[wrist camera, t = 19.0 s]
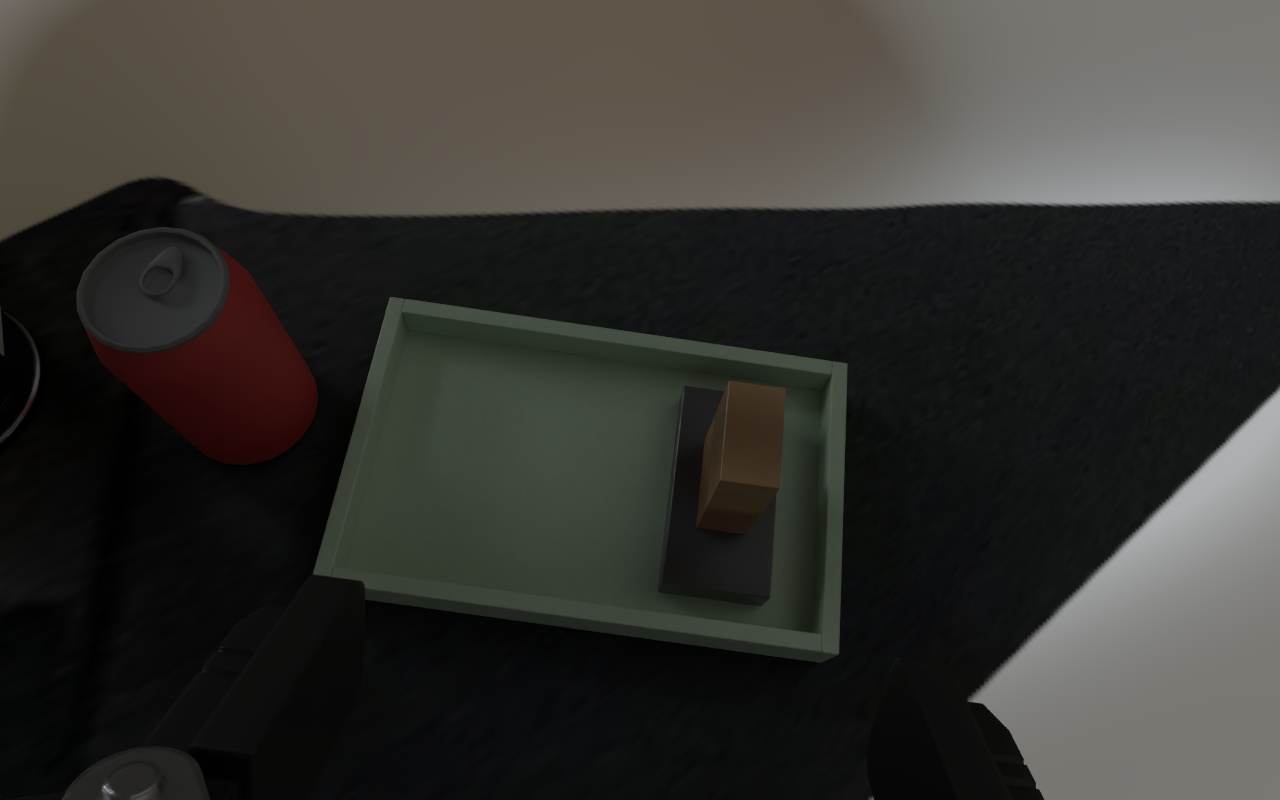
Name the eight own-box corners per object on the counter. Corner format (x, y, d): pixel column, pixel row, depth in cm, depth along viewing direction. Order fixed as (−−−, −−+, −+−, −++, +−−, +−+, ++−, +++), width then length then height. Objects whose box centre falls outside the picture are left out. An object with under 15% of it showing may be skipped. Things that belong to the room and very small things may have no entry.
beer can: (340, 366, 46) (268, 235, 35) (293, 482, 43) (199, 381, 32) (218, 338, 46) (109, 199, 35) (164, 452, 43) (27, 341, 32)
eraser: (761, 606, 41) (810, 563, 33) (657, 592, 41) (679, 545, 33) (774, 414, 45) (819, 333, 37) (679, 400, 45) (703, 316, 37)
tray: (327, 594, 41) (310, 581, 38) (399, 324, 47) (389, 296, 44) (821, 663, 42) (839, 654, 39) (831, 387, 47) (847, 363, 45)
